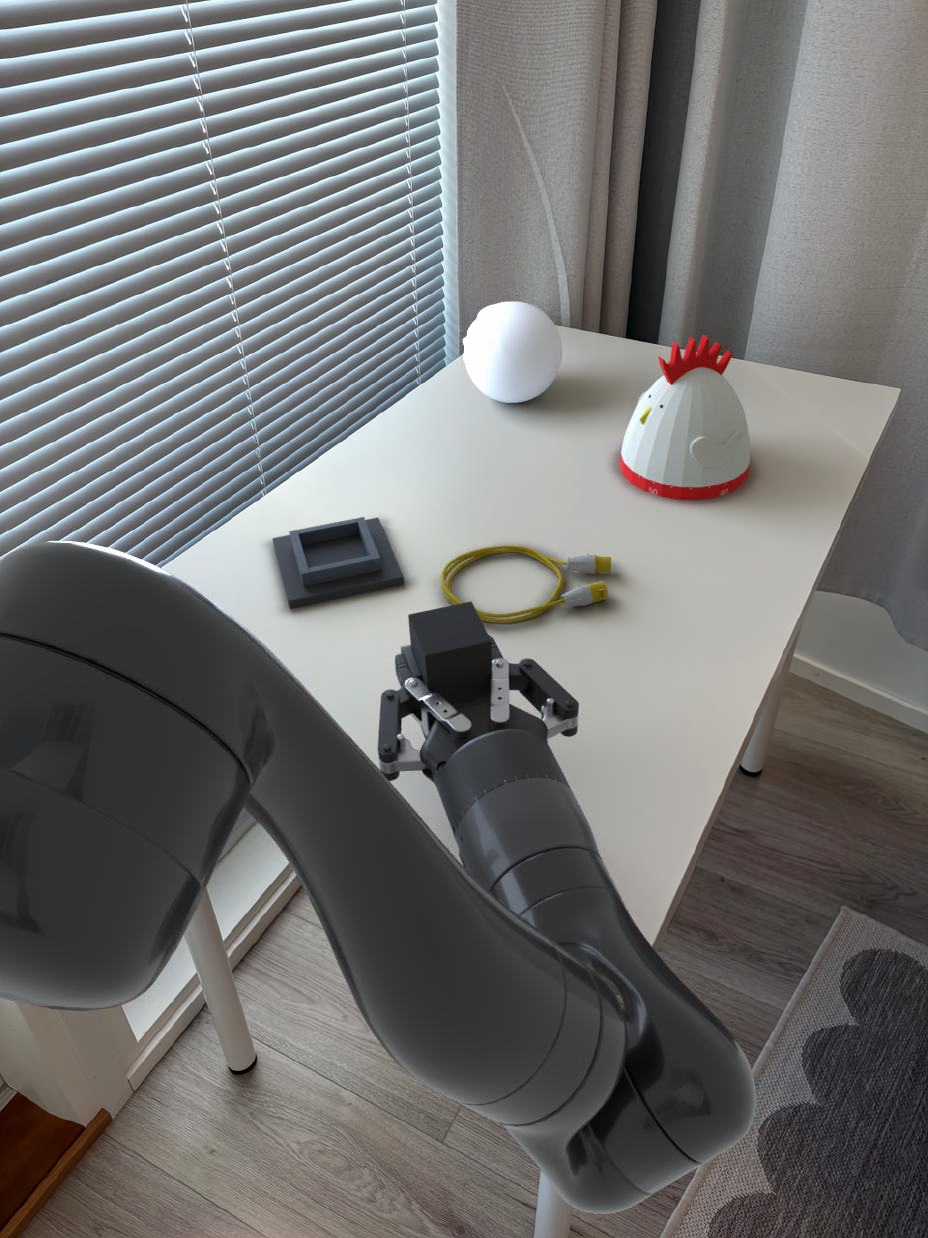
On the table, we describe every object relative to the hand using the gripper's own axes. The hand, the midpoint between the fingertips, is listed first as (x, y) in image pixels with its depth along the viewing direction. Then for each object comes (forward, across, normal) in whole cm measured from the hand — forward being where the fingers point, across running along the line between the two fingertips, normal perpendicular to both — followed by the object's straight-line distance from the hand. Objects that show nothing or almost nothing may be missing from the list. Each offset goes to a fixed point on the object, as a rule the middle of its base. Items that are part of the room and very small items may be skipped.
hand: (440, 647), depth 69 cm
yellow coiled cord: (+16, -12, +10) cm, 22 cm away
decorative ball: (+54, -24, +10) cm, 60 cm away
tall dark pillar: (-3, 0, +6) cm, 7 cm away
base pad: (+26, +4, +10) cm, 28 cm away
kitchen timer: (+31, -36, +10) cm, 49 cm away
